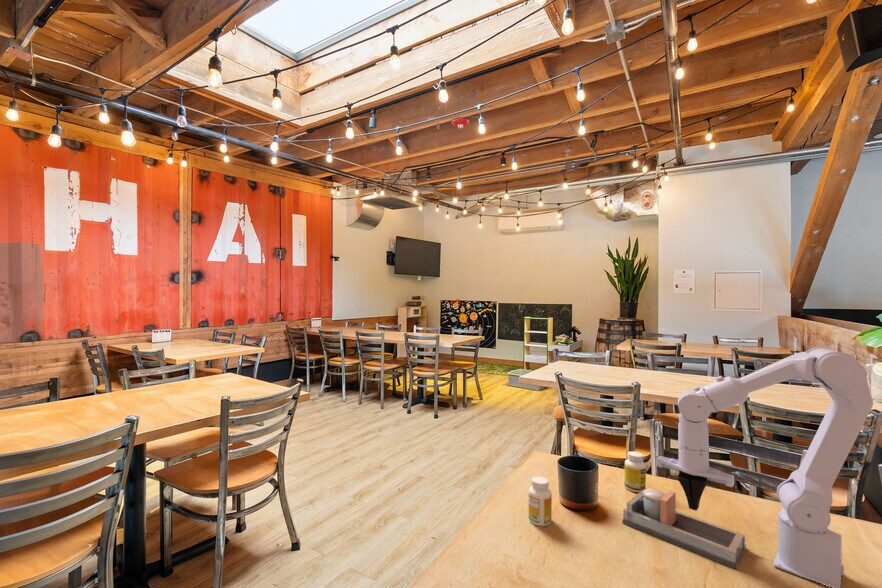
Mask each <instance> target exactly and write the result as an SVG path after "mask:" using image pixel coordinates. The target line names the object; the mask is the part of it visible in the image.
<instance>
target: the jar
mask: <svg viewBox="0 0 882 588" xmlns="http://www.w3.org/2000/svg"><path fill="white" fill-rule="evenodd" d="M666 494H667V493H665V492H663V491H661V490H659V489H655V488H646V489H645V490H643V495H644V516H646V517H649V518H652V519H654V520H657V521H660V499H661V498H663V497H664V496H665V495H666Z"/></svg>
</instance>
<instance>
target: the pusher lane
mask: <svg viewBox="0 0 882 588" xmlns="http://www.w3.org/2000/svg"><path fill="white" fill-rule="evenodd" d="M622 511H623V516H622V521H621V522H622V524H624V525H626V526H628V527H631V528H633V529H634V530H637V531H640V532H643V533H645V534H648V535H650V536H653V537H654V538H658V539H660V540H662V541H665V542H668V543H669V544H673V545H675V546H678V547H680V548H682V549H684V550H686V551H689V552H692V553H693V554H696V555H700V556H701V557H703V558H707V559H709V560H710V561H711V560H712V561H714V562H715V563H718V564H720V565H723V566H725V567H728V568H731V569H734V570H736V569H737V566H738V565H739V562H740V561H741V558H742V556H743V555H744V553H745V551H746V548H747V544H746V534H743V533H741V532H737V531H734V530H731V529H729V528H726V527H723V526H721V525H717V524H715V523H712V522H709V521H706V520H705V519H704V520H703V519H701V518H697V517H695V516H692V515H689V514H686V513H683V512H681V511H678V510H676V521H675V522H674V524H673V525H672V526H670V525H667V524H665V523H662V522H660V521H657V520H654V519H652V518H649V517H646V516H644V495H643V491H640V492H639V493H638V492H637V493H636V494H635V495H634V496H633V497H631V499H629V500H628V501H627V502H626V508H624V509H623V510H622Z"/></svg>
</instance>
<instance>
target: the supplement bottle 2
mask: <svg viewBox="0 0 882 588" xmlns="http://www.w3.org/2000/svg"><path fill="white" fill-rule="evenodd" d="M646 467H647V466H646V463H645V462H644V454H643V453H641V452H638V451H634V450H633V451H628V452H627V459H625V460H624V477H623V478H624V481H623V482H624V484H623V485H624V488H625V489H626V490H628V491H630V492H633V493H638V492H640V491H643V490H645V489H647V488H646V487H647V486H646V485H647V484H646V481H647V479H646V478H647V477H646V476H647V472H646V471H647V468H646Z"/></svg>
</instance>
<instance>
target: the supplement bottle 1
mask: <svg viewBox="0 0 882 588" xmlns="http://www.w3.org/2000/svg"><path fill="white" fill-rule="evenodd" d="M549 482H550V481H549V479H548V478H546V477H545V476H533V477H532V478H531V486H530V487H529V489H528V520H529V522H531V524H533V525H535V526H538V527H546V526H550V524H551V523H552V517H553V516H552V515H553V514H552V510H553V508H552V499H553V498H552V490H551V489H550V488H549V484H550V483H549Z"/></svg>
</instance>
